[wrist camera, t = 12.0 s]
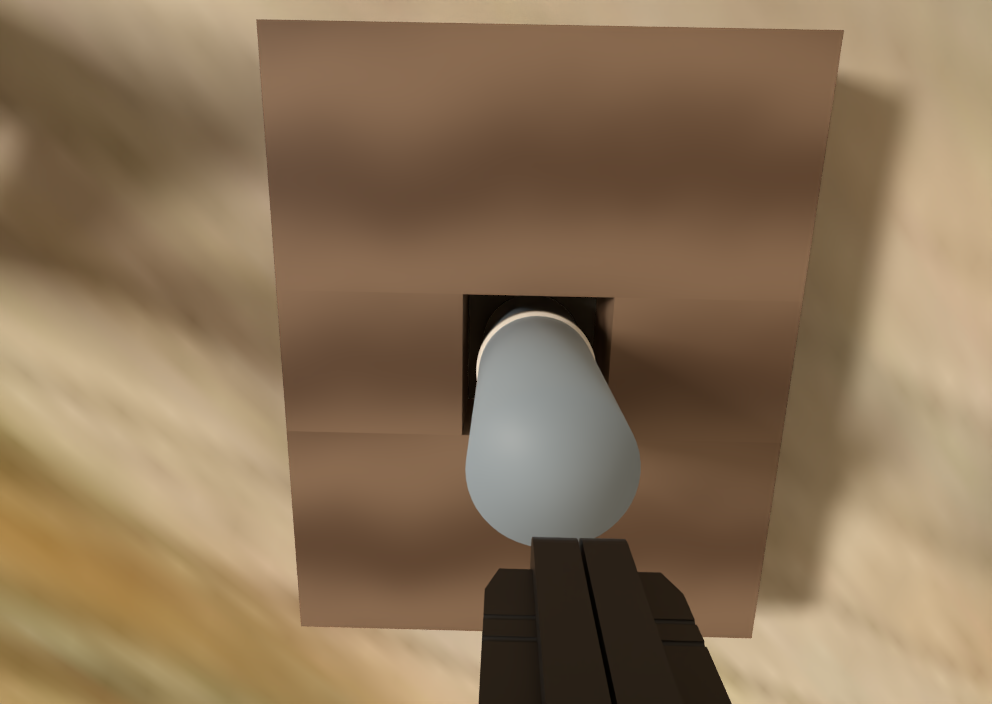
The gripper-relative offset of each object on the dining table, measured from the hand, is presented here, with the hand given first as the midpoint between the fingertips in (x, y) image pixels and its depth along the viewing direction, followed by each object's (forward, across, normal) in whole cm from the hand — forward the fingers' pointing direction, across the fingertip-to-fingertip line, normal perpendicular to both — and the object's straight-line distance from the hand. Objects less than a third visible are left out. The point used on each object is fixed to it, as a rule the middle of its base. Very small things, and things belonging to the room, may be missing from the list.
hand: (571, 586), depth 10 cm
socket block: (+16, 0, 0) cm, 16 cm away
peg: (+16, 0, 0) cm, 16 cm away
